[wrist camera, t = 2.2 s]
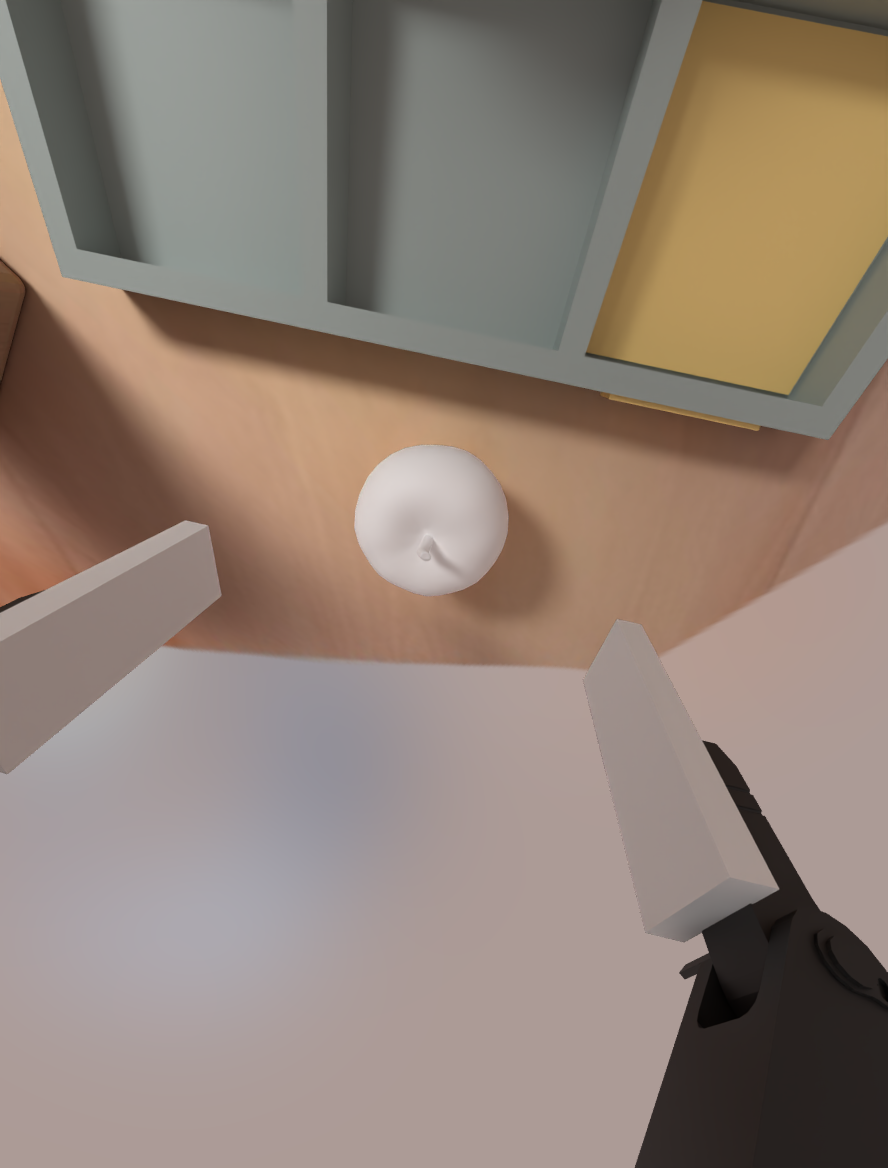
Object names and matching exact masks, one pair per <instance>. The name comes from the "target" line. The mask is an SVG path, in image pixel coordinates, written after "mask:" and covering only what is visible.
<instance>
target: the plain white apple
mask: <svg viewBox="0 0 888 1168" xmlns="http://www.w3.org/2000/svg"><path fill="white" fill-rule="evenodd" d="M508 519H509V516H508V508H507V501H506V497H505V495H504V492H503V489H502V487H501V485H500V483H499V481H498V480H497V479H496V477H495V476H494V474H493V473H492V471H491V470H490V469H489V468H488V467H487V466H486V465H485V464H484V463H483V462H482V461H481V460H480V459H479V458H477V457H476V456H474V455H472V454H471V453H469V452H468V451H466V450H462V449H459V448H456V447H452V446H443V445H418V446H412V447H407V448H404V449H401V450H399V451H397V452H395V453H393V454H391V455H389V456H388V457H387V458H386V459H384V460H383V461H382V462H380V463H379V464H378V465H377V466H376V467H375V468H374V470H373V471H372V472H371V473H370V475H369V476H368V477H367V479H366V482H365V484H364V486H363V488H362V490H361V492H360V495H359V498H358V502H357V506H356V510H355V526H354V529H355V532H356V536H357V540H358V543H359V545H360V547H361V549H362V551H363V553H364V554H365V556H366V558H367V559H368V561H369V563H370V564H371V566H372V567H373V568H374V569H375V571H376V572H377V573H378V574H379V575H380V576H381V577H383V578H384V579H386V580H387V581H388V582H390V583H392V584H394V585H396V586H398V587H400V588H403V589H405V590H407V591H410V592H412V593H415V594H419V595H423V596H440V595H445V594H449V593H453V592H457V591H460V590H463V589H465V588H467V587H469V586H471V585H473V584H475V583H477V582H478V581H479V580H480V579H481V578H482V577H483V576H484V575H485V574H486V573H487V572H488V571H489V570H490V568H491V567H492V566H493V564H494V563H495V561H496V560H497V558H498V557H499V555H500V553H501V551H502V549H503V547H504V544H505V540H506V537H507V534H508Z"/></svg>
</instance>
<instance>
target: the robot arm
mask: <svg viewBox="0 0 888 1168" xmlns="http://www.w3.org/2000/svg"><path fill="white" fill-rule="evenodd" d="M221 596H222V595H221V589H220V584H219V579H218V573H217V568H216V563H215V558H214V552H213V547H212V542H211V536H210V531H209V526H208V525H204V524H200V523H195V522H191V521H186V520H185V521H183V522H181V523H179V524H177V525H175V526H173V527H171V528H169V529H167V530H165V531H163V532H161V533H159V534H157V535H155V536H153V537H151V538H149V539H147V540H145V541H143V542H141V543H139V544H137V545H135V546H133V547H131V548H129V549H127V550H125V551H123V552H121V553H119V554H117V555H115V556H113V557H111V558H109V559H107V560H105V561H103V562H101V563H99V564H97V565H95V566H93V567H91V568H89V569H87V570H85V571H83V572H81V573H79V574H77V575H75V576H73V577H71V578H69V579H67V580H65V581H63V582H61V583H59V584H57V585H55V586H53V587H51V588H49V589H47V590H44V591H41V592H37V593H34V594H31V595H28V596H24V597H21V598H18V599H16V600H14V601H12V602H10V603H8V604H6V605H4V606H2V607H0V772H2V773H5V774H8V773H9V772H11V771H12V770H13V769H14V768H16V767H17V766H18V765H19V764H20V763H22V762H23V761H24V760H25V759H26V758H28V757H29V756H30V755H31V754H32V753H34V752H35V751H36V750H37V749H38V748H40V747H41V746H42V745H43V744H44V743H46V742H47V741H48V740H49V739H50V738H52V737H53V736H54V735H55V734H56V733H58V732H59V731H60V730H61V729H62V728H63V727H65V726H66V725H67V724H68V723H69V722H71V721H72V720H73V719H74V718H75V717H77V716H78V715H79V714H80V713H82V712H83V711H84V710H85V709H86V708H88V707H89V706H90V705H91V704H92V703H94V702H95V701H96V700H97V699H98V698H100V697H101V696H102V695H103V694H104V693H106V692H107V691H108V690H109V689H110V688H112V687H113V686H114V685H115V684H116V683H118V682H119V681H120V680H121V679H122V678H124V677H125V676H126V675H127V674H128V673H130V672H131V671H132V670H133V669H134V668H136V667H137V666H138V665H139V664H141V663H142V662H143V661H144V660H145V659H147V658H148V657H149V656H150V655H151V654H153V653H154V652H155V651H156V650H157V649H159V648H160V647H161V646H162V645H163V644H165V643H166V642H167V641H168V640H169V639H171V638H172V637H173V636H174V635H175V634H177V633H178V632H179V631H180V630H181V629H183V628H184V627H185V626H186V625H187V624H189V623H190V622H191V621H192V620H193V619H195V618H196V617H197V616H198V615H199V614H201V613H202V612H203V611H204V610H205V609H207V608H208V607H209V606H210V605H211V604H213V603H214V602H215V601H216V600H217V599H219V598H220V597H221ZM583 682H584V687H585V691H586V695H587V699H588V703H589V707H590V711H591V715H592V719H593V723H594V727H595V731H596V735H597V739H598V743H599V747H600V751H601V756H602V759H603V764H604V768H605V772H606V776H607V779H608V784H609V788H610V792H611V796H612V800H613V804H614V808H615V812H616V816H617V820H618V824H619V828H620V832H621V836H622V841H623V845H624V849H625V853H626V856H627V861H628V865H629V869H630V873H631V877H632V881H633V885H634V889H635V893H636V897H637V901H638V905H639V909H640V913H641V917H642V922H643V926H644V930H645V933H648V934H652V935H656V936H660V937H664V938H668V939H672V940H676V941H680V942H686V941H688V940H689V939H691V938H693V937H695V936H697V935H698V934H700V933H702V934H703V936H704V939H705V942H706V945H707V948H708V951H709V953H708V954H706V955H704V956H702V957H700V958H698V959H696V960H694V961H692V962H690V963H688V964H686V965H685V966H684V967H683V969H682V970H681V971H680V974H681V976H682V977H683V978H684V979H687V978H689V977H691V976H694V975H696V974H697V976H696V979H695V982H694V985H693V989H692V992H691V995H690V998H689V1001H688V1004H687V1007H686V1010H685V1013H684V1016H683V1020H682V1022H681V1026H680V1029H679V1032H678V1035H677V1038H676V1041H675V1044H674V1047H673V1050H672V1054H671V1057H670V1060H669V1063H668V1066H667V1069H666V1072H665V1075H664V1078H663V1081H662V1085H661V1088H660V1091H659V1094H658V1097H657V1100H656V1103H655V1107H654V1110H653V1113H652V1116H651V1119H650V1122H649V1125H648V1128H647V1132H646V1135H645V1138H644V1141H643V1144H642V1147H641V1150H640V1153H639V1156H638V1159H637V1162H636V1165H635V1168H888V972H886V970H885V968H884V967H883V966H882V965H881V963H880V962H879V961H878V960H877V958H876V957H875V956H874V955H873V953H872V952H871V951H870V949H869V948H868V947H867V946H866V945H865V944H864V943H863V942H862V941H861V940H860V939H859V938H858V937H857V936H856V935H855V934H854V933H853V932H851V931H850V930H849V929H848V928H847V927H846V926H845V925H843V924H842V923H840V922H839V921H837V920H836V919H834V918H833V917H831V916H830V915H828V914H827V913H824V912H821V911H820V910H819V908H818V907H817V905H816V904H815V902H814V901H813V899H812V898H811V896H810V894H809V892H808V890H807V889H806V887H805V885H804V884H803V882H802V880H801V878H800V877H799V875H798V873H797V871H796V870H795V868H794V866H793V864H792V863H791V861H790V859H789V857H788V856H787V854H786V852H785V851H784V849H783V847H782V845H781V844H780V842H779V840H778V838H777V837H776V835H775V833H774V831H773V830H772V828H771V826H770V824H769V822H768V821H767V819H766V817H765V816H762V814H761V811H762V810H761V809H760V807H759V805H758V803H757V801H756V800H755V798H754V796H753V795H750V793H749V792H750V789H749V788H748V786H747V784H746V782H745V781H744V779H743V777H742V775H741V774H740V772H739V770H738V768H737V767H736V765H735V764H734V763H733V762H732V761H731V760H730V759H729V758H728V757H727V755H726V754H725V753H724V752H723V751H722V750H721V749H720V748H719V747H718V745H717V744H715V743H710V742H706V741H702V740H701V738H700V736H699V734H698V732H697V730H696V728H695V726H694V724H693V723H692V720H691V719H690V717H689V715H688V713H687V711H686V709H685V707H684V705H683V703H682V701H681V699H680V697H679V696H678V694H677V692H676V690H675V688H674V686H673V684H672V682H671V680H670V678H669V676H668V674H667V673H666V671H665V669H664V667H663V665H662V663H661V661H660V659H659V657H658V655H657V653H656V651H655V650H654V648H653V646H652V644H651V642H650V640H649V638H648V636H647V634H646V632H645V630H644V628H643V627H642V625H641V624H637V623H633V622H629V621H624V620H620V619H616V621H615V623H614V625H613V627H612V628H611V630H610V632H609V634H608V636H607V637H606V639H605V641H604V643H603V645H602V646H601V648H600V650H599V652H598V654H597V655H596V657H595V659H594V661H593V663H592V664H591V666H590V668H589V670H588V672H587V673H586V675H585V677H584V679H583Z"/></svg>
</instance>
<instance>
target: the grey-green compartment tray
mask: <svg viewBox="0 0 888 1168" xmlns="http://www.w3.org/2000/svg"><path fill="white" fill-rule="evenodd" d="M0 79H1V82H2V85H3V88H4V92H5V95H6V98H7V101H8V104H9V108H10V111H11V114H12V117H13V120H14V124H15V127H16V130H17V133H18V136H19V140H20V143H21V146H22V149H23V152H24V156H25V159H26V162H27V165H28V169H29V172H30V175H31V178H32V181H33V185H34V188H35V191H36V194H37V197H38V201H39V204H40V207H41V210H42V213H43V217H44V220H45V223H46V226H47V229H48V233H49V236H50V239H51V242H52V245H53V249H54V252H55V255H56V258H57V261H58V265H59V268H60V271H61V274H62V277H66V278H71V279H75V280H80V281H85V282H89V283H94V284H99V285H103V286H108V287H113V288H117V289H122V290H127V291H132V292H136V293H141V294H146V295H150V296H155V297H160V298H164V299H169V300H174V301H178V302H183V303H188V304H193V305H197V306H202V307H207V308H211V309H216V310H221V311H225V312H230V313H235V314H239V315H244V316H249V317H253V318H258V319H263V320H268V321H272V322H277V323H282V324H286V325H291V326H296V327H300V328H305V329H310V330H314V331H319V332H324V333H329V334H333V335H338V336H343V337H347V338H352V339H357V340H361V341H366V342H371V343H375V344H380V345H385V346H390V347H394V348H399V349H404V350H408V351H413V352H418V353H422V354H427V355H432V356H436V357H441V358H446V359H450V360H455V361H460V362H465V363H469V364H474V365H479V366H483V367H488V368H493V369H497V370H502V371H507V372H511V373H516V374H521V375H526V376H530V377H535V378H540V379H544V380H549V381H554V382H558V383H563V384H568V385H572V386H577V387H582V388H586V389H591V390H596V391H601V394H600V396H603V397H605V398H608V399H611V400H616V401H620V402H625V403H630V404H634V405H639V406H644V407H648V408H653V409H658V410H662V411H667V412H672V413H676V414H681V415H686V416H690V417H695V418H700V419H705V420H709V421H714V422H719V423H723V424H728V425H733V426H737V427H742V428H747V429H751V430H756V431H758V430H759V429H760V427H761V426H765V427H769V428H774V429H779V430H783V431H788V432H793V433H798V434H802V435H807V436H812V437H816V438H821V439H826V440H829V439H830V437H831V436H832V434H833V433H834V432H835V430H836V429H837V428H838V426H839V425H840V423H841V422H842V421H843V419H844V418H845V417H846V415H847V414H848V412H849V411H850V410H851V408H852V407H853V406H854V404H855V403H856V401H857V400H858V399H859V397H860V396H861V395H862V393H863V392H864V390H865V389H866V388H867V386H868V385H869V384H870V382H871V381H872V379H873V378H874V377H875V375H876V374H877V373H878V371H879V370H880V368H881V367H882V366H883V364H884V363H885V362H886V360H887V359H888V0H0Z"/></svg>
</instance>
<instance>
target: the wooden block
mask: <svg viewBox="0 0 888 1168" xmlns="http://www.w3.org/2000/svg"><path fill="white" fill-rule="evenodd" d="M24 295H25V288H24V284H23V283H22V281H21V280H20V278H19V277H18V276H17V275H15V274H14V273H13V272H12V271H11V270H10V269H9V268H8V267H7V266H6V265H5V264H4V263H2V262H1V261H0V382H1V379H2V375H3V372H4V368H5V364H6V361H7V357H8V353H9V350H10V346H11V342H12V339H13V335H14V332H15V328H16V324H17V321H18V317H19V313H20V310H21V306H22V302H23V299H24Z"/></svg>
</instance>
